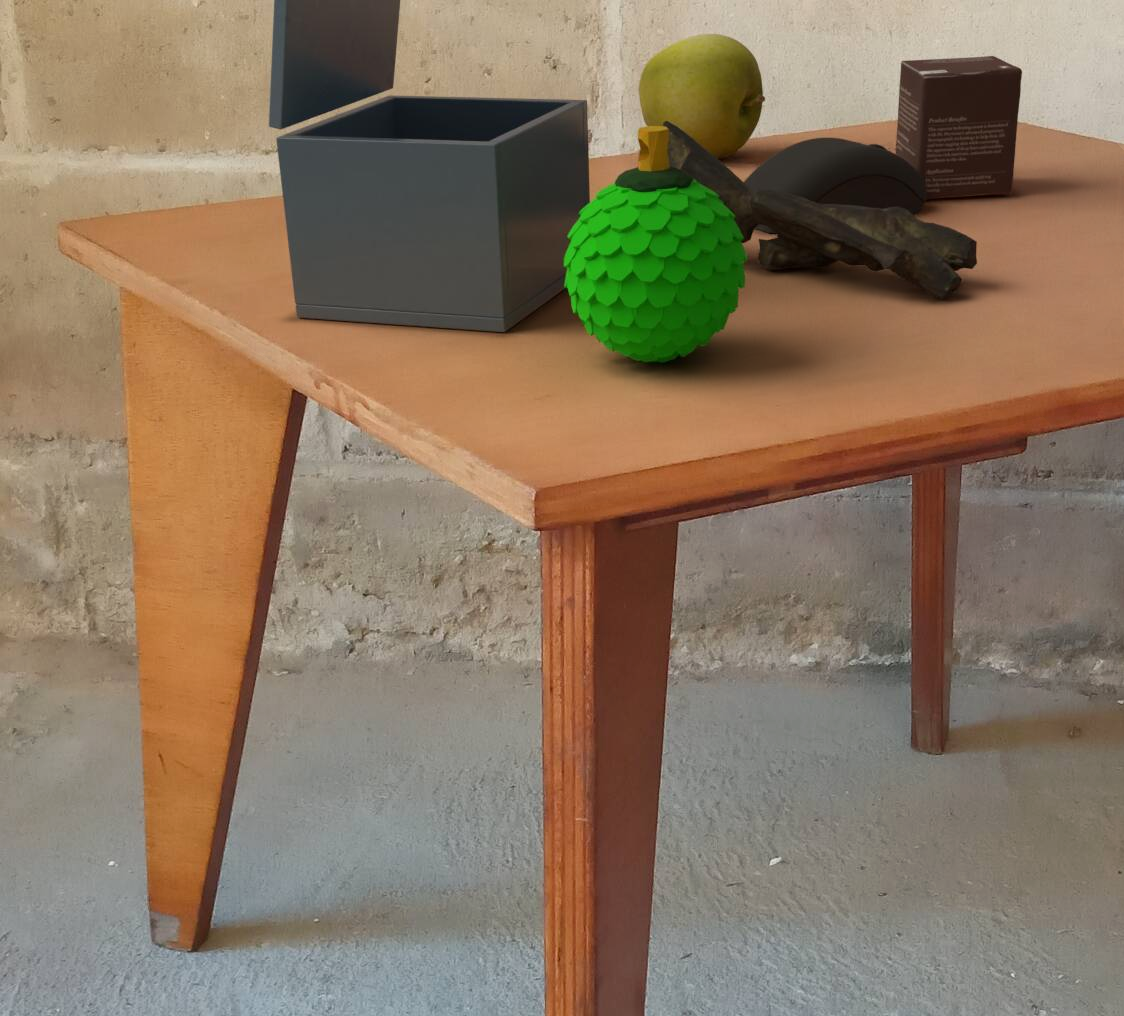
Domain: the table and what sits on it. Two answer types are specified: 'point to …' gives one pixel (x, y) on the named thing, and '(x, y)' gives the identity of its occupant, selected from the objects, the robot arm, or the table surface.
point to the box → (959, 124)
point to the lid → (329, 55)
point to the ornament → (654, 259)
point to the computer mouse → (841, 175)
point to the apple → (704, 91)
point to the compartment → (434, 209)
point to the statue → (831, 227)
